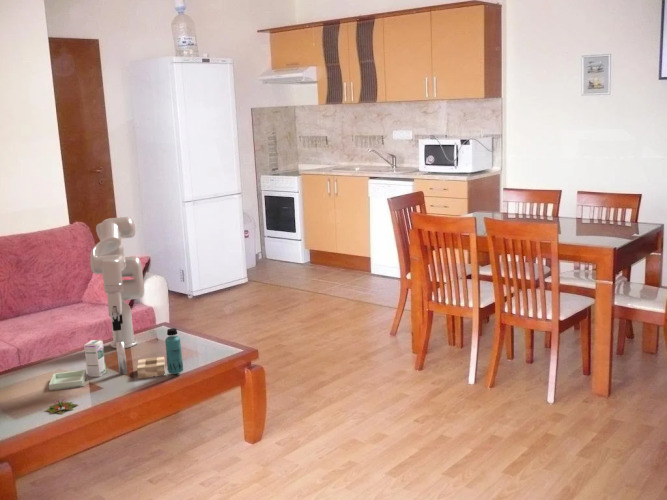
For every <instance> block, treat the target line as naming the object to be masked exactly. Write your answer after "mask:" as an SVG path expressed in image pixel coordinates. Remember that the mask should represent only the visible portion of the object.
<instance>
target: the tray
mask: <svg viewBox="0 0 667 500" xmlns="http://www.w3.org/2000/svg"><path fill="white" fill-rule="evenodd" d="M86 378H87V369H79V370H73V371H72V370H71V371H64V372H56V373H55V372H54V373H53V374H52V377H51V379H50V381H49V383H48V390H49V391H58V390H65V389H72V388H81V387H84V384H85V381H86Z"/></svg>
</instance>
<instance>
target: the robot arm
mask: <svg viewBox="0 0 667 500" xmlns="http://www.w3.org/2000/svg"><path fill="white" fill-rule="evenodd" d="M95 231H96V234H97V237H98V239H99V242H97V243H96V244H95V245H94V246H93V248H91V251H90V269H91V271H92V273H93V274H96V275H102V281H103V289H104V293H105V294H106V297H107V309H108V310H107V311H108V317H110V320H111V321H110V322H111V328H112V337H113V341H112V342H111V343H110V347H111V348H113V349H117V347H116V342H119V341H124V348H125V349H127V348H131V347H134V346H137V344H138V343H139V341H138V339H137V338H135V333H134V326H133V317H132V309H131V306H130V304H128V303H127V302H126V301H128V300H137V299H142V298H143V297H144V296H145V283H144V282H145V281H144V276H143V273H144V272H143V265H142V262H141V258H139V257H138V256H134V255H133V256H125V252H124V247H123V244H122V239H130V238H133V237H134V236H135V235H136V225H135V222H134V220H133V219H132V218H131V217H128V216H124V217H121V216H120V217H109V218H106V219H104V220H103V221H102V222H99V223H97V224H96V226H95ZM130 277H132V278H131V279H123V278H130Z"/></svg>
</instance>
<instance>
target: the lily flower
mask: <svg viewBox="0 0 667 500" xmlns="http://www.w3.org/2000/svg"><path fill="white" fill-rule="evenodd" d="M66 399H67V397H64V398H63V399H62V400H61V401H60V400H59V398H56V400H55V401H56V402H54V404H53V405H50V406H49V407H50V408H47V409H46V410H45V412H50V414H49V415H51V414H54V413H58V414H61V415H63V414H64V413H65V412H66V411H67V410H69V411H70V410H71V411H74V409H73V407H74V408H75V407H77V406H78V404H76V403H73V402H71V401H69V402H68V401H65V400H66Z"/></svg>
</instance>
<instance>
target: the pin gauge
mask: <svg viewBox="0 0 667 500" xmlns="http://www.w3.org/2000/svg"><path fill="white" fill-rule="evenodd" d="M116 347H117V348H116V354H117V355H116V356H117V361H118V363H117V364H118V371H119V375H120V376H123V375H124V376H125V375H127V374H128V368H127V367H128V366H127V357H126V348H124V341H119V342H116Z"/></svg>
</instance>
